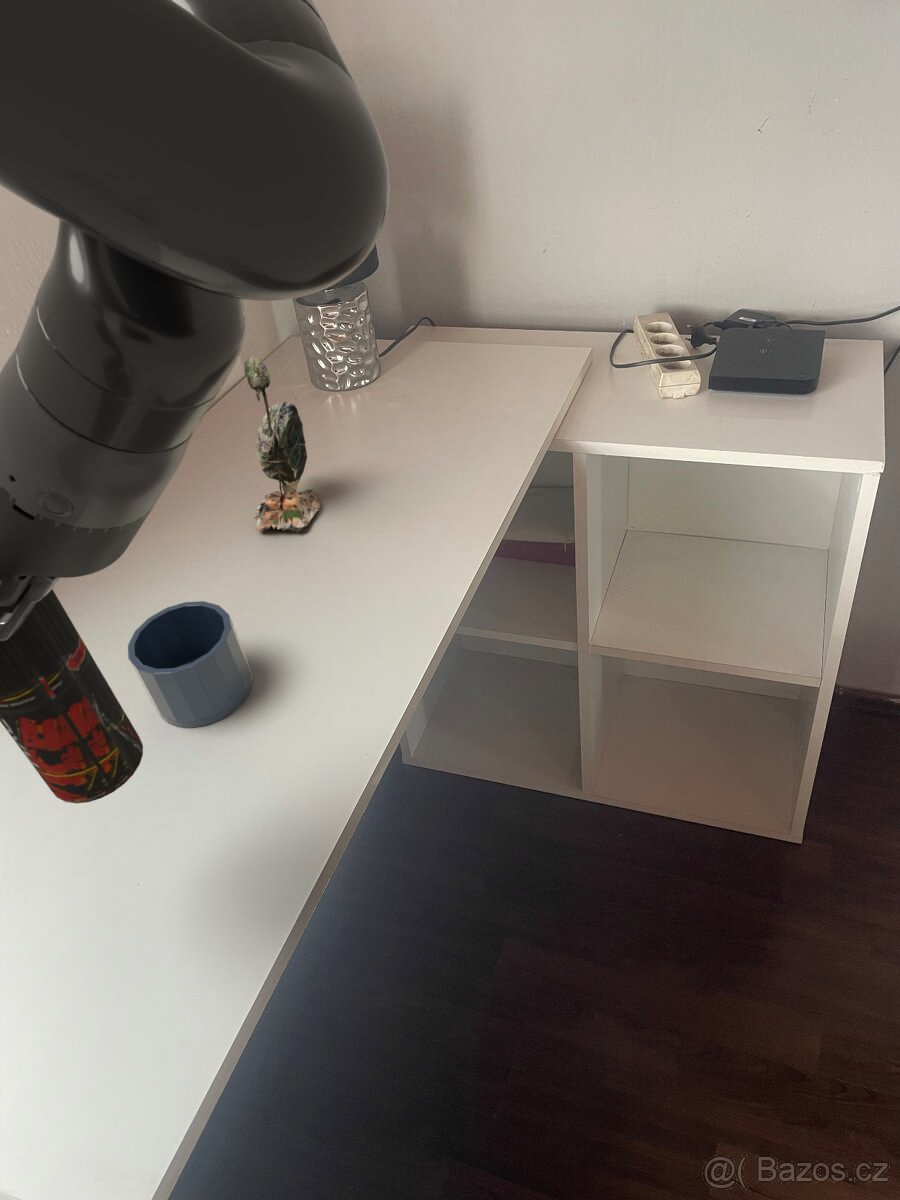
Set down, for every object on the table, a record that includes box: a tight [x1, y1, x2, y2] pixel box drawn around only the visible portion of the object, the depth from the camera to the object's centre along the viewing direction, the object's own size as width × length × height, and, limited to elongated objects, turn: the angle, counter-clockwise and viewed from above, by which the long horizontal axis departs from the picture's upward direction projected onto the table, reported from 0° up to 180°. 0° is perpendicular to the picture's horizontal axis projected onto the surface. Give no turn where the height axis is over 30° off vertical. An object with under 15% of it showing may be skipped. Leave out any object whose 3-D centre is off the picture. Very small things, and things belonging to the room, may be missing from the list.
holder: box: [127, 600, 254, 729], centre depth 78 cm, size 9×9×7 cm
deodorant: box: [0, 588, 144, 804], centre depth 50 cm, size 6×6×15 cm
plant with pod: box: [244, 356, 321, 533], centre depth 94 cm, size 8×11×20 cm
